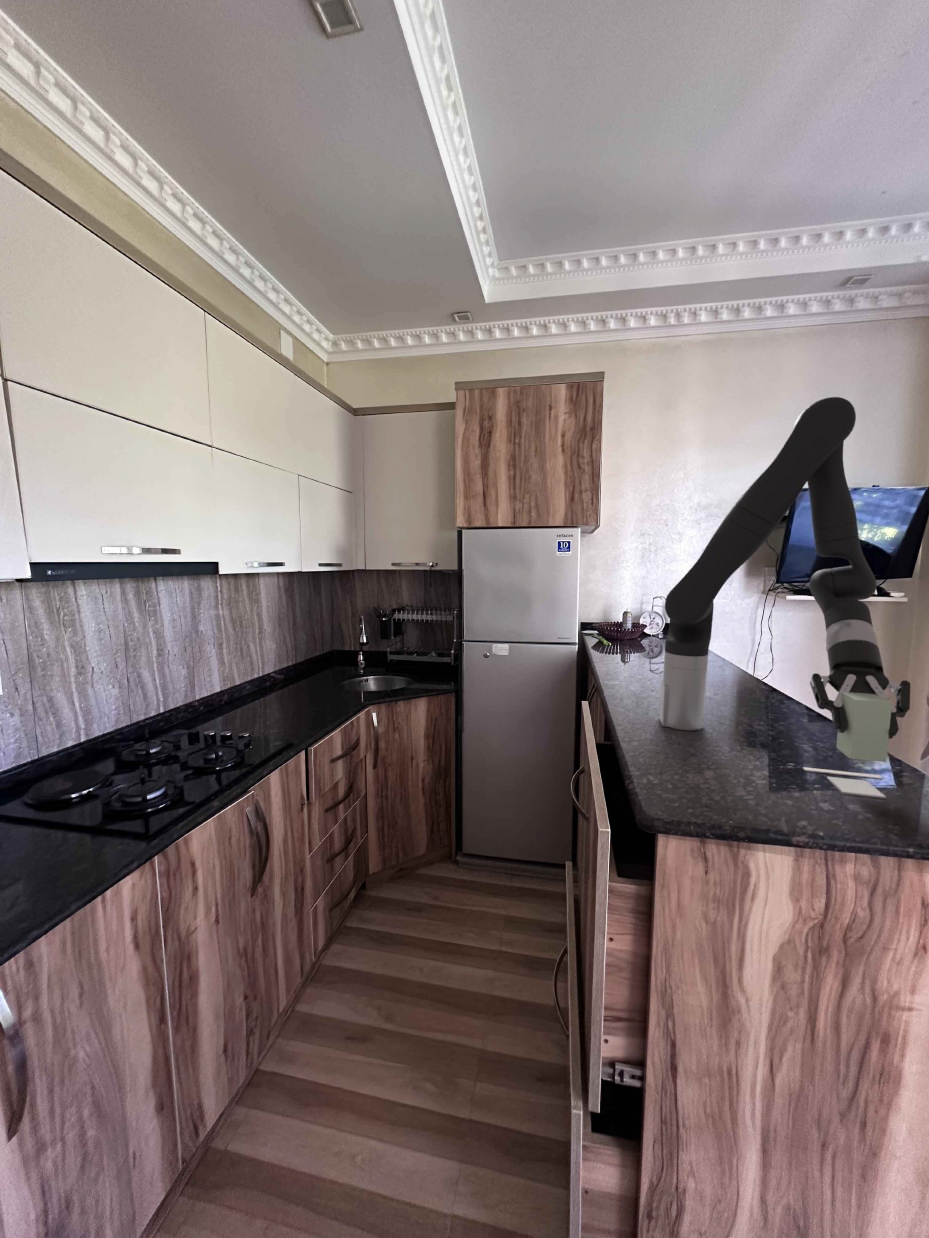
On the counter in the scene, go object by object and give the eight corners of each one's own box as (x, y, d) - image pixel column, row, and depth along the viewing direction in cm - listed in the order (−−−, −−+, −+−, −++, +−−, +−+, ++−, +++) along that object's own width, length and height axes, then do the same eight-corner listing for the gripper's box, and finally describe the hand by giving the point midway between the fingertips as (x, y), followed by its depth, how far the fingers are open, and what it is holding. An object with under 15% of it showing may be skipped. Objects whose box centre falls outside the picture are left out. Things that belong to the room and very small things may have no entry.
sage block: (849, 758, 81) (855, 699, 80) (836, 747, 86) (841, 691, 84) (886, 761, 79) (892, 701, 78) (870, 750, 84) (875, 693, 83)
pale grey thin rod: (805, 770, 90) (805, 769, 90) (802, 768, 91) (802, 767, 91) (882, 779, 87) (882, 778, 87) (879, 776, 88) (879, 775, 88)
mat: (842, 793, 81) (842, 791, 81) (826, 777, 87) (826, 776, 87) (885, 798, 80) (885, 796, 80) (866, 782, 85) (866, 780, 85)
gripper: (809, 635, 90) (817, 716, 81) (910, 640, 84) (932, 729, 75) (801, 658, 96) (809, 737, 86) (896, 665, 89) (915, 750, 80)
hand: (866, 733), depth 80 cm, fingers closed on sage block, 5 cm apart
